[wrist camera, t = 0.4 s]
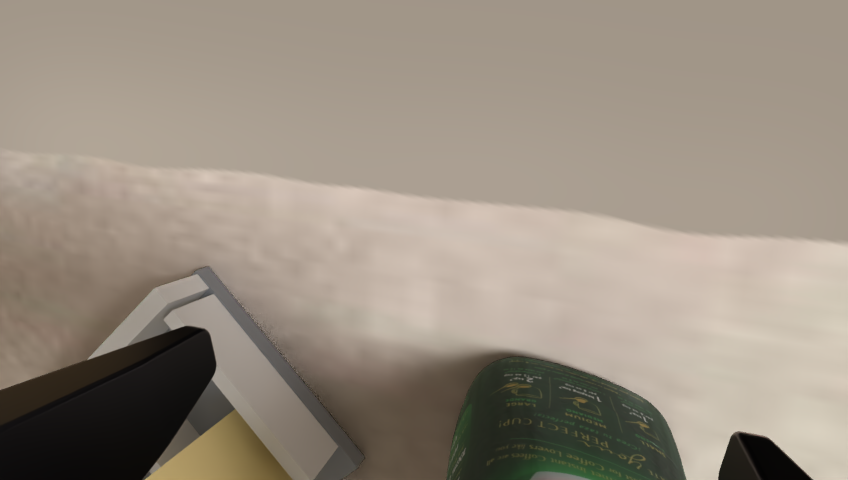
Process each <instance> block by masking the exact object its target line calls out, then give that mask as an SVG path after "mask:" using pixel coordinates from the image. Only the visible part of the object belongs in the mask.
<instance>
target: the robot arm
mask: <svg viewBox="0 0 848 480" xmlns="http://www.w3.org/2000/svg"><path fill="white" fill-rule="evenodd" d="M216 366H217V363H216V358H215V353H214V348H213V344H212V339H211V335H210V333H209V332H208V330H206V329H205V328H200V327H195V326H183V327H180V328H177V329H175V330H172V331H169V332H166V333H163V334H160V335H157V336H154V337H152V338H149V339H146V340H143V341H140V342H137V343H134V344H131V345H129V346H126V347H123V348H120V349H117V350H114V351H111V352H109V353H106V354H103V355H100V356H97V357H94V358H91V359H88V360H86V361H83V362H80V363H77V364H74V365H71V366H68V367H65V368H63V369H60V370H57V371H54V372H51V373H48V374H45V375H42V376H40V377H37V378H34V379H31V380H28V381H25V382H22V383H20V384H17V385H14V386H11V387H8V388H5V389H2V390H0V480H143V479H144V477H145V476H146V475H147V474H148V472H149V471H150V470H151V468H152V467H153V466H154V464H155V463H156V462H157V461H158V459H159V458H160V457H161V455H162V454H163V453H164V451H165V450H166V449H167V447H168V446H169V444H170V443H171V441H172V440H173V439H174V437H175V436H176V434H177V433H178V431H179V429H180V428H181V426H182V425H183V423H184V422H185V420H186V418H187V417H188V415H189V414H190V412H191V411H192V409H193V408H194V406H195V404H196V403H197V401H198V400H199V398H200V397H201V395H202V393H203V392H204V390H205V389H206V387H207V386H208V384H209V383H210V381H211V379H212V378H213V376H214V374H215V371H216ZM718 480H813V479H812V478H811V477H810V476H809V475H808V474H807V473H806V472H804V471H803V470H802V469H801V468H800V467H799V466H798V465H797V464H796V463H795V462H794V461H793V460H792V459H791V458H790V457H789V456H788V455H787V454H785V453H784V452H783V451H782V450H781V449H780V448H779V447H778V446H777V445H776V444H775V443H774V442H773V441H772V440H770V439H769V438H767V437H765V436H761V435H756V434H751V433H746V432H740V431H738V432H735V433H734V434H733V435H732V436H731V438H730V441H729V444H728V447H727V450H726V453H725V456H724V459H723V462H722V465H721V468H720V471H719V477H718Z"/></svg>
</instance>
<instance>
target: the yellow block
mask: <svg viewBox="0 0 848 480" xmlns="http://www.w3.org/2000/svg"><path fill="white" fill-rule="evenodd" d="M145 480H293V479H292V478H291V477H290V476H289V474H288V473H287V472H286V471H285V470H284V468H283V467H282V466H281V465H280V463H279V462H278V461H277V460H276V458H275V457H274V456H273V455H272V453H271V452H270V451H269V450H268V449H267V447H266V446H265V445H264V444H263V442H262V441H261V440H260V439H259V437H258V436H257V435H256V434H255V432H254V431H253V430H252V429H251V427H250V426H249V425H248V424H247V423H246V421H245V420H244V419H243V418H242V416H241V415H240V414H239V413H238V411H237V410H236V409H235V410H233V411H232V412H231V413H229V414H228V415H227V416H226V417H224V418H223V419H222V420H220V421H219V422H218V423H217V424H215V425H214V426H213V427H211V428H210V429H209V430H208V431H206V432H205V433H204V434H203V435H201V436H200V437H199V438H197V439H196V440H195V441H194V442H192V443H191V444H190V445H188V446H187V447H186V448H185V449H183V450H182V451H181V452H179V453H178V454H177V455H176V456H174V457H173V458H172V459H171V460H169V461H168V462H167V463H165V464H164V465H163V466H162V467H160V468H159V469H158V470H156V471H155V472H154V473H153V474H151V475H150V476H149V477H147V478H146V479H145Z"/></svg>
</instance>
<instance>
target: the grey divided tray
mask: <svg viewBox="0 0 848 480" xmlns="http://www.w3.org/2000/svg"><path fill="white" fill-rule="evenodd" d="M183 326H195V327H200V328H205V329H206V330H208V332H209V333H210V335H211V339H212V344H213V348H214V353H215V358H216V363H217V366H216V371H215V374H214V376H213V378H212V379H211V381H210V383H209V384H208V386H207V387H206V389H205V390H204V392H203V393H202V395H201V397H200V398H199V400H198V401H197V403H196V404H195V406H194V408H193V409H192V411H191V412H190V414H189V415H188V417H187V418H186V420H185V422H184V423H183V425H182V426H181V428H180V429H179V431H178V433H177V434H176V436H175V437H174V439H173V440H172V441H171V443H170V444H169V446H168V447H167V449H166V450H165V451H164V453H163V454H162V455H161V457H160V458H159V459H158V461H157V462H156V463H155V464H154V466H153V467H152V468H151V470H150V471H149V472H148V474H147V475H146V476H145V477H144V479H143V480H145V479H146V478H147V477H149V476H150V475H151V474H153V473H154V472H155V471H156V470H158V469H159V468H160V467H162V466H163V465H164V464H165V463H167V462H168V461H169V460H171V459H172V458H173V457H174V456H176V455H177V454H178V453H179V452H181V451H182V450H183V449H185V448H186V447H187V446H188V445H190V444H191V443H192V442H194V441H195V440H196V439H197V438H199V437H200V436H201V435H203V434H204V433H205V432H206V431H208V430H209V429H210V428H211V427H213V426H214V425H215V424H217V423H218V422H219V421H220V420H222V419H223V418H224V417H226V416H227V415H228V414H229V413H231V412H232V411H233V410H235V409H236V410H237V411H238V413H239V414H240V415H241V416H242V418H243V419H244V420H245V421H246V423H247V424H248V425H249V426H250V427H251V429H252V430H253V431H254V432H255V434H256V435H257V436H258V437H259V439H260V440H261V441H262V442H263V444H264V445H265V446H266V447H267V449H268V450H269V451H270V452H271V453H272V455H273V456H274V457H275V458H276V460H277V461H278V462H279V463H280V465H281V466H282V467H283V468H284V470H285V471H286V472H287V473H288V474H289V476H290V477H291V478H292V479H293V480H342V479H343V478H345V477H346V476H347V475H349V474H350V473H352V472H353V471H354V470H356V469H357V468H358V467H359V465H360V464H361V462H362V461H363V459H364V458H365V457H364V455H363V454H362V453H361V452H360V450H359V449H358V448H357V447H356V446H355V444H354V443H353V442H352V441H351V439H350V438H349V437H348V436H347V435H346V433H345V432H344V431H343V430H342V428H341V427H340V426H339V425H338V424H337V422H336V421H335V420H334V419H333V418H332V416H331V415H330V414H329V413H328V411H327V410H326V409H325V408H324V407H323V405H322V404H321V403H320V402H319V400H318V399H317V398H316V397H315V396H314V394H313V393H312V392H311V391H310V389H309V388H308V387H307V386H306V385H305V383H304V382H303V381H302V380H301V378H300V377H299V376H298V375H297V374H296V372H295V371H294V370H293V369H292V367H291V366H290V365H289V364H288V363H287V361H286V360H285V359H284V358H283V356H282V355H281V354H280V353H279V352H278V350H277V349H276V348H275V347H274V345H273V344H272V343H271V342H270V341H269V339H268V338H267V337H266V336H265V334H264V333H263V332H262V331H261V330H260V328H259V327H258V326H257V325H256V324H255V322H254V321H253V320H252V319H251V317H250V316H249V315H248V314H247V313H246V311H245V310H244V309H243V308H242V306H241V305H240V304H239V303H238V302H237V300H236V299H235V298H234V297H233V295H232V294H231V293H230V292H229V291H228V289H227V288H226V287H225V286H224V284H223V283H222V282H221V281H220V280H219V278H218V277H217V276H216V275H215V273H214V272H213V271H212V270H211V269H210V267H209V266H208V267H205V268H201V269H198V270H196V271H195V272H194V273H193V274H192V275H191V276H190V277H187V278H183V279H180V280H177V281H174V282H171V283H168V284H164V285H161V286H158V287H155V288H154V289H153V290H152V291H151V292H150V293H149V294H148V295H147V296H146V297H145V299H144V300H143V301H142V302H141V303H140V304H139V305H138V306H137V307H136V308H135V309H134V310H133V311H132V312H131V313H130V314H129V316H128V317H127V318H126V319H125V320H124V321H123V322H122V323H121V324H120V325H119V326H118V327H117V328H116V329H115V330H114V331H113V333H112V334H111V335H110V336H109V337H108V338H107V339H106V340H105V341H104V342H103V343H102V344H101V345H100V346H99V347H98V349H97V350H96V351H95V352H94V353H93V354H92V355H91V356H90V357H89V358H88V359H91V358H94V357H97V356H100V355H103V354H106V353H109V352H111V351H114V350H117V349H120V348H123V347H126V346H129V345H131V344H134V343H137V342H140V341H143V340H146V339H149V338H152V337H154V336H157V335H160V334H163V333H166V332H169V331H172V330H175V329H177V328H180V327H183ZM88 359H87V360H88Z"/></svg>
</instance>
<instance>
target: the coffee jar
mask: <svg viewBox="0 0 848 480" xmlns="http://www.w3.org/2000/svg"><path fill="white" fill-rule="evenodd" d="M446 480H686V477H685V473H684V469H683V466H682V462H681V459H680V455H679V452H678V449H677V446H676V443H675V441H674V438H673V435H672V433H671V430H670V428H669V426H668V424H667V422H666V420H665V419H664V417H663V416H662V415H661V413H660V412H659V411H658V410H657V409H656V408H655V407H654V406H653V405H652V404H651V403H650V402H648V401H647V400H645V399H644V398H642V397H641V396H639V395H637V394H635V393H633V392H631V391H629V390H627V389H625V388H623V387H621V386H618V385H615V384H613V383H612V382H609V381H607V380H604V379H602V378H599V377H597V376H594V375H591V374H588V373H585V372H582V371H579V370H576V369H573V368H570V367H566V366H563V365H559V364H556V363H552V362H547V361H543V360H538V359H532V358H527V357H509V358H504V359H501V360H498V361H495V362H493V363H491V364H490V365H488V366H487V367H486V368H484V369H483V370H482V371H481V372H480V373H479V374H478V376H477V377H476V378H475V380H474V381H473V383H472V385H471V387H470V389H469V391H468V393H467V396H466V398H465V401H464V404H463V407H462V409H461V412H460V415H459V418H458V421H457V425H456V429H455V433H454V437H453V441H452V446H451V452H450V458H449V465H448V472H447V479H446Z"/></svg>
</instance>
